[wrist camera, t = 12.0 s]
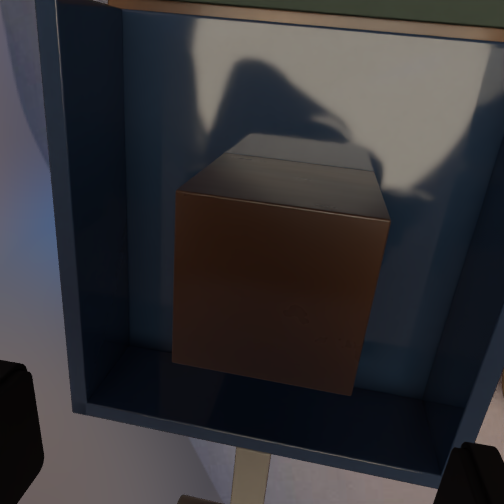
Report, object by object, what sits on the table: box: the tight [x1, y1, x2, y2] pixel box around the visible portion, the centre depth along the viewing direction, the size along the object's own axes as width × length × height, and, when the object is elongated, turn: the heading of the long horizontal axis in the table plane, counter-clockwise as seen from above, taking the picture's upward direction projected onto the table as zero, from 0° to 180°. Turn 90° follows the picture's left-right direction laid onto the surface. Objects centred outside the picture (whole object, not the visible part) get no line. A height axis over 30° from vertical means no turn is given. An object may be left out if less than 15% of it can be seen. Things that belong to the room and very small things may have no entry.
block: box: [172, 153, 391, 396], centre depth 13 cm, size 5×5×5 cm
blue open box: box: [35, 0, 504, 504], centre depth 15 cm, size 13×19×5 cm
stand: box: [108, 0, 504, 42], centre depth 20 cm, size 14×23×12 cm, turn 175°
